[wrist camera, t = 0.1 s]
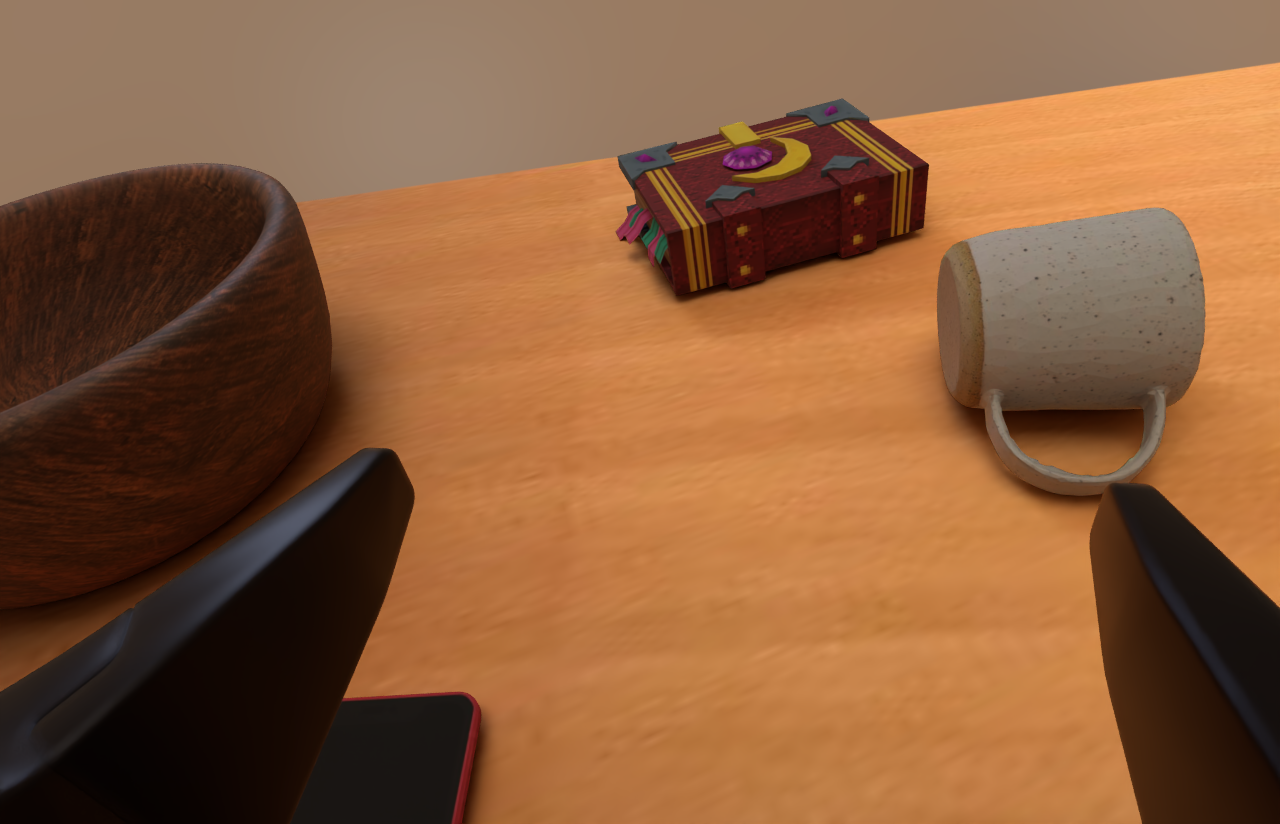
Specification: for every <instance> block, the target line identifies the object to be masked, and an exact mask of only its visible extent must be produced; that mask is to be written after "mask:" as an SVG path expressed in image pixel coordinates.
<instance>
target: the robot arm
mask: <svg viewBox="0 0 1280 824" xmlns="http://www.w3.org/2000/svg"><path fill="white" fill-rule="evenodd" d="M414 499H415V496H414V489H413V486H412V484H411V482H410V480H409V478H408V476H407V474H406V472H405V469H404V467H403V465H402V463H401V461H400V459H399V457H398V455H397V454H396V453H395V452H394V451H393V450H391V449H387V448H365V449H362V450H360V451H359V452H357V453H356V454H354V455H353V456H351V457H350V458H349V459H347V460H346V461H344V462H343V463H341V464H340V465H338V466H337V467H335V468H334V469H332V470H331V471H330V472H328V473H327V474H325V475H324V476H322V477H321V478H319V479H318V480H316V481H315V482H314V483H312V484H311V485H309V486H308V487H306V488H305V489H303V490H302V491H300V492H299V493H298V494H296V495H295V496H293V497H292V498H290V499H289V500H287V501H286V502H284V503H283V504H281V505H280V506H279V507H277V508H276V509H274V510H273V511H271V512H270V513H268V514H267V515H265V516H264V517H262V518H261V519H260V520H258V521H257V522H255V523H254V524H252V525H251V526H249V527H248V528H246V529H245V530H244V531H242V532H241V533H239V534H238V535H236V536H235V537H233V538H232V539H230V540H229V541H227V542H226V543H225V544H223V545H222V546H220V547H219V548H217V549H216V550H214V551H213V552H211V553H210V554H208V555H207V556H206V557H204V558H203V559H201V560H200V561H198V562H197V563H195V564H194V565H192V566H191V567H189V568H188V569H187V570H185V571H184V572H182V573H181V574H179V575H178V576H176V577H175V578H173V579H172V580H171V581H169V582H168V583H166V584H165V585H163V586H162V587H160V588H159V589H157V590H156V591H154V592H153V593H152V594H150V595H149V596H147V597H146V598H144V599H143V600H141V601H140V602H138V603H137V604H136V605H135V607H134V609H133V608H130V609H128V610H126V611H125V612H124V613H122V614H121V615H119V616H118V617H116V618H115V619H114V620H112V621H111V622H109V623H108V624H106V625H105V626H103V627H102V628H100V629H99V630H97V631H96V632H94V633H93V634H91V635H90V636H88V637H87V638H85V639H84V640H82V641H81V642H79V643H78V644H76V645H75V646H73V647H72V648H70V649H69V650H67V651H66V652H64V653H63V654H61V655H59V656H58V657H56V658H55V659H53V660H51V661H50V662H48V663H47V664H45V665H43V666H42V667H40V668H38V669H37V670H35V671H34V672H32V673H30V674H29V675H27V676H26V677H24V678H22V679H21V680H19V681H17V682H16V683H14V684H13V685H11V686H9V687H8V688H6V689H4V690H3V691H1V692H0V824H290V822H291V820H292V817H293V815H294V813H295V810H296V808H297V805H298V803H299V801H300V798H301V796H302V794H303V791H304V789H305V787H306V784H307V782H308V780H309V777H310V775H311V772H312V770H313V768H314V765H315V763H316V761H317V758H318V756H319V754H320V751H321V749H322V746H323V744H324V742H325V739H326V737H327V735H328V732H329V730H330V728H331V725H332V723H333V721H334V718H335V716H336V713H337V711H338V709H339V706H340V704H341V702H342V699H343V697H344V695H345V692H346V690H347V687H348V685H349V683H350V680H351V678H352V676H353V673H354V671H355V669H356V666H357V664H358V661H359V659H360V657H361V654H362V652H363V650H364V647H365V645H366V643H367V640H368V638H369V636H370V633H371V631H372V628H373V626H374V624H375V621H376V619H377V617H378V614H379V612H380V609H381V607H382V604H383V602H384V599H385V596H386V593H387V590H388V587H389V584H390V581H391V578H392V575H393V571H394V568H395V565H396V562H397V558H398V555H399V552H400V548H401V545H402V542H403V539H404V535H405V532H406V529H407V525H408V522H409V519H410V516H411V512H412V509H413V505H414ZM1090 556H1091V564H1092V573H1093V581H1094V590H1095V598H1096V606H1097V615H1098V623H1099V632H1100V640H1101V648H1102V656H1103V663H1104V670H1105V676H1106V680H1107V685H1108V690H1109V694H1110V698H1111V702H1112V706H1113V710H1114V714H1115V718H1116V722H1117V726H1118V730H1119V734H1120V737H1121V741H1122V745H1123V749H1124V753H1125V757H1126V761H1127V765H1128V769H1129V773H1130V777H1131V781H1132V785H1133V789H1134V793H1135V797H1136V801H1137V805H1138V808H1139V812H1140V816H1141V820H1142V824H1280V607H1278V606H1277V605H1276V604H1275V603H1274V602H1273V601H1272V600H1271V599H1270V598H1269V597H1268V596H1267V595H1266V594H1265V593H1264V592H1263V591H1262V590H1261V589H1260V588H1259V587H1258V586H1257V585H1256V584H1255V583H1253V582H1252V581H1251V580H1250V579H1249V578H1248V577H1247V576H1246V575H1245V574H1244V573H1243V572H1242V571H1241V570H1240V569H1239V568H1238V567H1237V566H1236V565H1235V564H1234V563H1233V562H1232V561H1231V560H1230V559H1228V558H1227V557H1226V556H1225V555H1224V554H1223V553H1222V552H1221V551H1220V550H1219V549H1218V548H1217V547H1216V546H1215V545H1214V544H1213V543H1212V542H1211V541H1210V540H1209V539H1208V538H1207V537H1206V536H1204V535H1203V534H1202V533H1201V532H1200V531H1199V530H1198V529H1197V528H1196V527H1195V526H1194V525H1193V524H1192V523H1191V522H1190V521H1189V520H1188V519H1187V518H1186V517H1185V516H1184V515H1183V514H1182V513H1181V512H1179V511H1178V510H1177V509H1176V508H1175V507H1174V506H1173V505H1172V504H1171V503H1170V502H1169V501H1168V500H1167V499H1166V498H1165V497H1164V496H1163V495H1162V494H1161V493H1160V492H1159V491H1158V490H1156V489H1155V488H1154V487H1152V486H1150V485H1147V484H1136V483H1111V484H1109V485H1108V486H1107V487H1106V488H1105V490H1104V492H1103V495H1102V498H1101V501H1100V504H1099V507H1098V510H1097V513H1096V516H1095V519H1094V522H1093V525H1092V528H1091V533H1090Z"/></svg>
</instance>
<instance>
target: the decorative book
mask: <svg viewBox="0 0 1280 824" xmlns="http://www.w3.org/2000/svg"><path fill="white" fill-rule="evenodd" d="M618 162H619V167H620V169H621V171H622V172H623V174H624V175H625V177H626V179H627V180H628V182H629V184H630V185H631V187H632V189H633V190H634V193H635V199H636V204H635V205H631V206H627V211H628V216H627V218H626V220H625V222H624V223H623V224H622V225H621V226H620V227H619V229H618V230H617V231H616V233H617V235H618V237H619V239H620V240H621V239H622V238H623V237H624V236H625V237H626V239H627V241H628V243H629V245H630V244H631V243H632V242H633V240H634V239H635V238H636V237H637V236H638V235H639V236H640V238H641V239H642V241H643V242H644V244H645V246H646V248H647V249H648V258H649V259H650V261H651V263H652V265H653V267H654V256H655V258H656V260H657V262H658V264H659V265H660V267H661V269H662V271H663V272H664V274H665V276H666V278H667V280H668V281H669V283H670V285H671V287H672V289H673V290H674V292H675V294H676V296H678V295H682V294H685V293H689V292H693V291H696V290H700V289H703V288H707V287H711V286H714V285H718V284H722V283H725V282H726V283H727V284H728V286H729V287H730V289H731V288H735V287H738V286H742V285H746V284H749V283H753V282H757V281H760V280H764V279H766V278H765V272H766V271H769V270H773V269H776V268H780V267H784V266H787V265H791V264H795V263H798V262H802V261H806V260H809V259H813V258H817V257H820V256H824V255H828V254H831V253H835V252H837V253H838V254H839V255H840V257H841V258H844V257H848V256H851V255H855V254H858V253H862V252H866V251H869V250H873V249H876V241H879V240H882V239H886V238H890V237H893V236H897V235H901V234H904V233H908V232H912V231H915V230H919V229H922V228H923V227H924V215H925V204H926V192H927V180H928V169H929V164H928V163H926V162H925V161H923V160H922V159H921V158H919V157H918V156H916V155H915V154H913V153H912V152H911V151H909V150H908V149H906V148H905V147H903V146H902V145H901V144H899V143H898V142H896V141H895V140H894V139H892V138H891V137H889V136H888V135H886V134H885V133H884V132H882V131H881V130H879V129H878V128H876V127H875V126H874V125H872V124H871V123H869V117H868V116H866V115H864V114H863V113H862V112H861V111H859V110H858V109H856V108H855V107H854V106H852V105H851V104H850V103H848V102H847V101H845V100H844V99H839V100H835V101H832V102H828V103H824V104H820V105H816V106H813V107H809V108H805V109H801V110H797V111H794V112H790V113H787V114H786V117H784V118H780V119H776V120H772V121H768V122H764V123H761V124H757V125H753V126H749V127H748V126H747V125H746V124H745V123H743V122H739V123H735V124H731V125H727V126H724V127H719V134H718V135H713V136H710V137H706V138H702V139H698V140H694V141H691V142H686V143H682V144H678V145H677V142H673V143H669V144H665V145H661V146H657V147H653V148H649V149H645V150H641V151H637V152H633V153H628V154H625V155H620V156H618Z"/></svg>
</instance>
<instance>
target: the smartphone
mask: <svg viewBox="0 0 1280 824" xmlns="http://www.w3.org/2000/svg"><path fill="white" fill-rule="evenodd" d="M480 722H481V709H480V707H479V705H478V703H477V701H476V700H475V698H474V697H472V696H471V695H469V694H468V693H464V692H445V693H428V694H411V695H394V696H377V697H360V698H343V699H342V702H341V704H340V706H339V709H338V711H337V713H336V716H335V718H334V721H333V723H332V725H331V728H330V730H329V732H328V735H327V737H326V739H325V742H324V744H323V746H322V749H321V751H320V754H319V756H318V758H317V761H316V763H315V765H314V768H313V770H312V772H311V775H310V777H309V780H308V782H307V784H306V787H305V789H304V791H303V794H302V796H301V798H300V801H299V803H298V805H297V808H296V810H295V813H294V815H293V817H292V820H291V822H290V824H462V818H463V813H464V808H465V802H466V797H467V792H468V786H469V781H470V776H471V770H472V765H473V760H474V754H475V749H476V743H477V738H478V733H479V727H480Z"/></svg>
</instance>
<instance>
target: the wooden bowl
mask: <svg viewBox="0 0 1280 824" xmlns="http://www.w3.org/2000/svg"><path fill="white" fill-rule="evenodd" d="M331 355H332V338H331V327H330V316H329V311H328V306H327V301H326V296H325V292H324V288H323V284H322V281H321V277H320V273H319V270H318V266H317V263H316V260H315V256H314V253H313V250H312V247H311V244H310V241H309V237H308V234H307V231H306V228H305V225H304V222H303V219H302V217H301V214H300V212H299V209H298V207H297V204H296V202H295V201H294V199H293V197H292V196H291V194H290V193H289V192H288V191H287V190H286V188H285V187H284V186H283V185H282V184H281V183H280V182H279V181H277V180H276V179H274V178H273V177H271V176H269V175H267V174H265V173H262V172H260V171H256V170H252V169H249V168H245V167H241V166H234V165H227V164H208V163H206V164H205V163H199V164H198V163H196V164H178V165H168V166H159V167H151V168H145V169H138V170H133V171H127V172H122V173H117V174H112V175H107V176H102V177H98V178H94V179H90V180H86V181H81V182H77V183H74V184H70V185H66V186H63V187H59V188H55V189H52V190H49V191H45V192H42V193H39V194H35V195H32V196H29V197H26V198H23V199H20V200H17V201H14V202H10V203H8V204H5V205H2V206H0V609H12V608H20V607H27V606H33V605H38V604H43V603H48V602H52V601H57V600H62V599H66V598H70V597H73V596H77V595H80V594H84V593H88V592H91V591H94V590H96V589H99V588H102V587H105V586H108V585H111V584H113V583H116V582H118V581H121V580H123V579H126V578H128V577H131V576H133V575H135V574H137V573H140V572H142V571H144V570H146V569H148V568H150V567H152V566H154V565H157V564H159V563H160V562H162V561H164V560H166V559H168V558H170V557H172V556H173V555H175V554H177V553H179V552H181V551H182V550H184V549H186V548H187V547H189V546H191V545H192V544H194V543H196V542H197V541H199V540H201V539H202V538H204V537H205V536H207V535H208V534H210V533H211V532H213V531H214V530H215V529H217V528H218V527H220V526H221V525H223V524H224V523H225V522H227V521H228V520H229V519H231V518H232V517H233V516H235V515H236V514H237V513H239V512H240V511H241V510H242V509H243V508H245V507H246V506H247V505H248V504H249V503H250V502H252V501H253V500H254V499H255V498H256V497H257V496H258V495H259V494H261V493H262V492H263V491H264V490H265V489H266V488H267V487H268V486H269V485H270V484H271V483H272V482H273V481H274V480H275V479H276V478H277V477H278V475H279V474H280V473H281V472H282V471H283V470H284V469H285V468H286V466H287V465H288V464H289V463H290V461H291V460H292V459H293V458H294V456H295V455H296V454H297V452H298V451H299V449H300V448H301V446H302V445H303V443H304V442H305V440H306V439H307V437H308V436H309V434H310V432H311V430H312V429H313V427H314V425H315V423H316V421H317V419H318V417H319V415H320V412H321V410H322V407H323V404H324V400H325V397H326V393H327V388H328V383H329V378H330V370H331Z"/></svg>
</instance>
